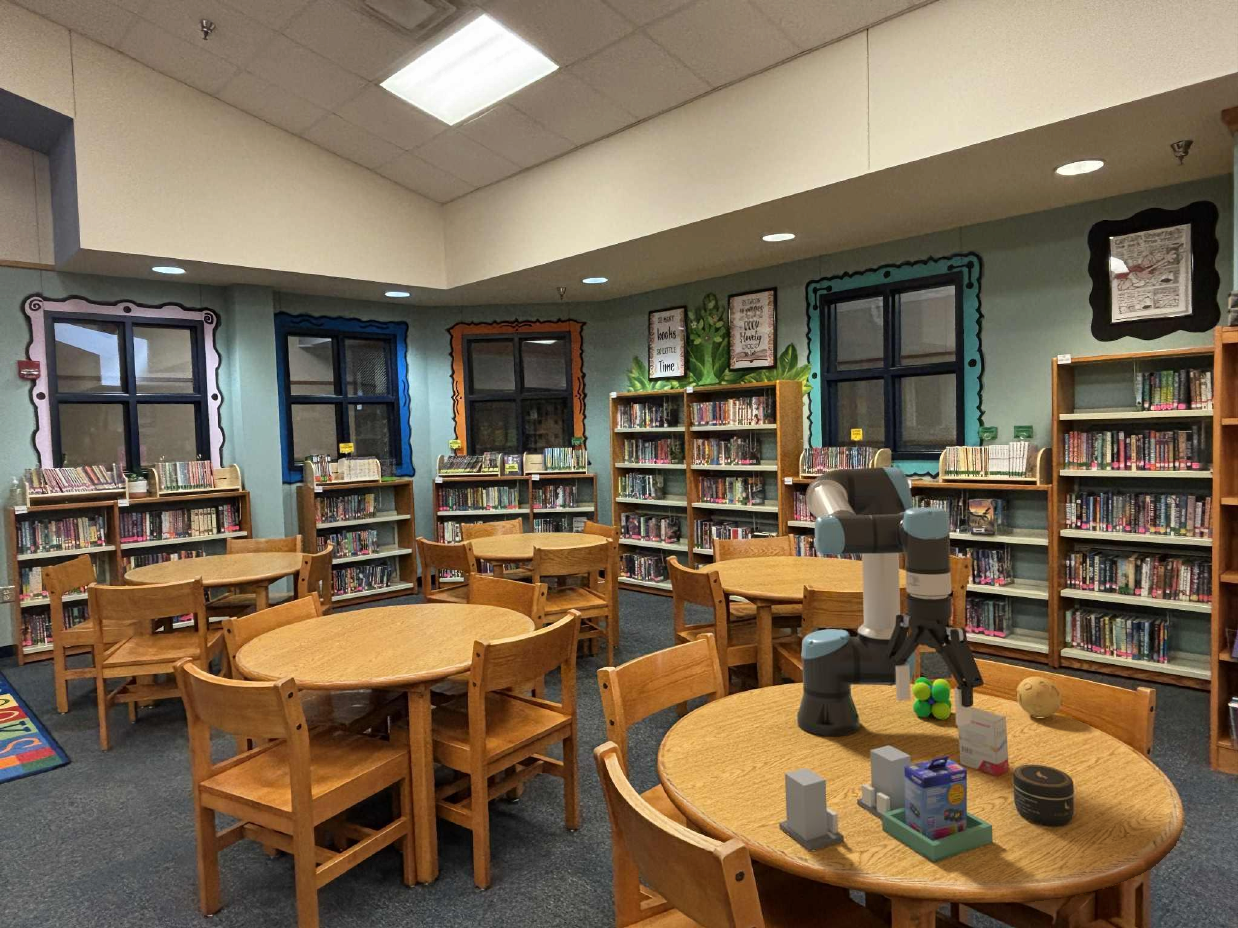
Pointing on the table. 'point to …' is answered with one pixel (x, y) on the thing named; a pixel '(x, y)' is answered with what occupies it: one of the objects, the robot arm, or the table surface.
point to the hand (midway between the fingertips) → (932, 711)
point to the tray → (941, 848)
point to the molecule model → (932, 698)
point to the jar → (1043, 795)
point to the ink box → (984, 742)
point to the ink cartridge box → (936, 798)
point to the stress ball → (1038, 696)
